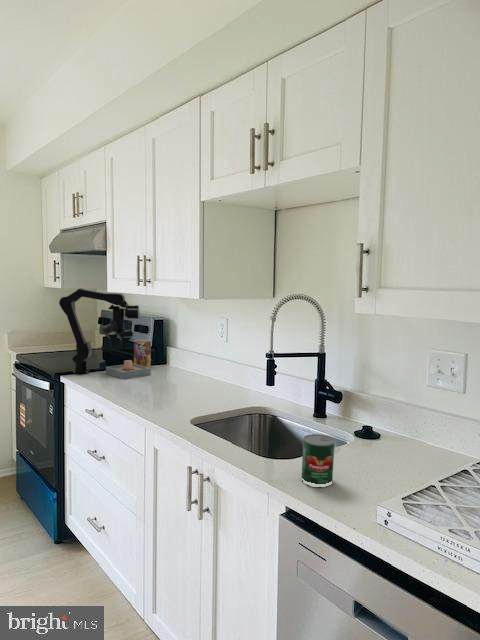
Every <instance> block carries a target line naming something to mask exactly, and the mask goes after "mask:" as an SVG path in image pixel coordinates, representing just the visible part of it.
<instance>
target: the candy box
mask: <svg viewBox="0 0 480 640" xmlns="http://www.w3.org/2000/svg"><path fill="white" fill-rule="evenodd" d="M151 343H152V340H151V339H133V364H137V365H140V366H144V367H148V368H151V364H152V362H151V360H152V358H151V356H152V355H151V354H152V353H151V352H152V350H151V349H152V347H151V346H152V345H151Z"/></svg>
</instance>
